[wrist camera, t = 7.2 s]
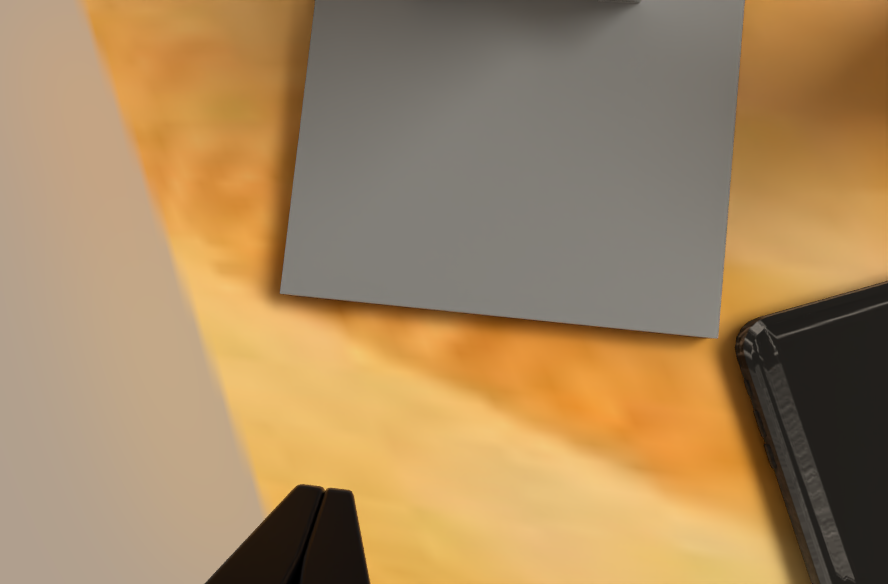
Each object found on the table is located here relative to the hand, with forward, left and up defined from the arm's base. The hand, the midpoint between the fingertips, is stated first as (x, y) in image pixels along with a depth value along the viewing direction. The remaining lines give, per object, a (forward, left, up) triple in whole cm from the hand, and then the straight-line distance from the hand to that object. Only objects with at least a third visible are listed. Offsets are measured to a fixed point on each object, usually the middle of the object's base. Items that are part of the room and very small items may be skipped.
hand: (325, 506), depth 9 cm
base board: (+13, -2, -14) cm, 19 cm away
